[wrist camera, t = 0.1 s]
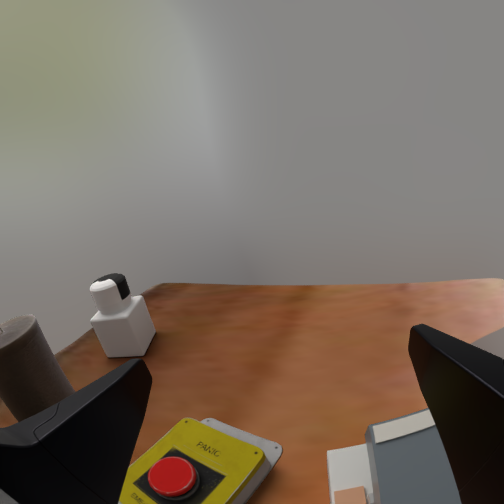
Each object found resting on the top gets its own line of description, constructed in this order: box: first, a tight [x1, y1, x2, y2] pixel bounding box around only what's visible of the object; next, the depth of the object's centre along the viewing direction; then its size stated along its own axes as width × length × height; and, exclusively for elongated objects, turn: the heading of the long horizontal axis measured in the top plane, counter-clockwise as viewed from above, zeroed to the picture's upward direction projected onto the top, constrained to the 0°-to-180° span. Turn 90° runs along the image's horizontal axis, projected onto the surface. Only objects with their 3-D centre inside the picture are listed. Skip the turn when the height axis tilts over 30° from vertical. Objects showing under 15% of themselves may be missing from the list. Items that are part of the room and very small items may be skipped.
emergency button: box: [118, 418, 282, 504], centre depth 16 cm, size 9×4×15 cm
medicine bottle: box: [90, 273, 156, 357], centre depth 39 cm, size 7×7×12 cm
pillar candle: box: [0, 314, 75, 422], centre depth 21 cm, size 10×10×15 cm
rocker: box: [365, 408, 461, 504], centre depth 9 cm, size 9×12×2 cm
